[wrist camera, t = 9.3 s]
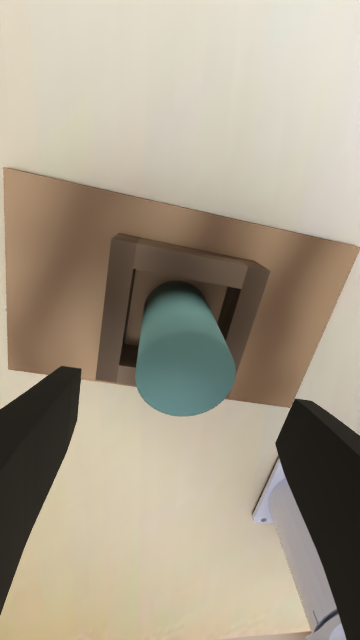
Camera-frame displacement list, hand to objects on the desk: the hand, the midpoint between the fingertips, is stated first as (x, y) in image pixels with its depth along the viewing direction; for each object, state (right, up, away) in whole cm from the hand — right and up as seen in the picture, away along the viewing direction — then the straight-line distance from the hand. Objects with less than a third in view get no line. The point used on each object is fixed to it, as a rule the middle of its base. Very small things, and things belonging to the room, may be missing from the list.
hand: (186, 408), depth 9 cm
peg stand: (-1, +4, +9) cm, 9 cm away
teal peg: (-1, +3, +8) cm, 9 cm away
